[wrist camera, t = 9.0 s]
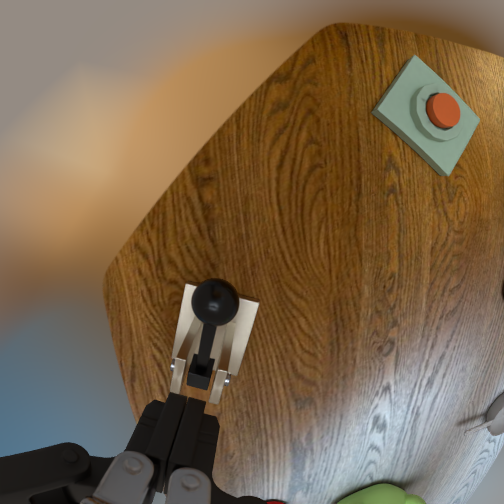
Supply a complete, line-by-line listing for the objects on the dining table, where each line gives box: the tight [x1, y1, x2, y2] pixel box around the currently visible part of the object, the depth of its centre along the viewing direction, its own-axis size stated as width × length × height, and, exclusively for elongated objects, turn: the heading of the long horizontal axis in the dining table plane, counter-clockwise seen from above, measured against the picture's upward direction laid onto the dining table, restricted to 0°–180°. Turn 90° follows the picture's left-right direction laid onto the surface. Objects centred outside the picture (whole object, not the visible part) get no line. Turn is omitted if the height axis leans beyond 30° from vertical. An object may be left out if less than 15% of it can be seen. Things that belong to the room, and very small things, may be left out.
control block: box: [371, 55, 480, 176], centre depth 31 cm, size 12×10×4 cm
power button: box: [426, 93, 460, 128], centre depth 29 cm, size 4×4×2 cm
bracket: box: [170, 281, 259, 404], centre depth 34 cm, size 11×9×12 cm
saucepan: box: [464, 393, 504, 436], centre depth 42 cm, size 11×18×4 cm, turn 93°
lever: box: [187, 278, 240, 390], centre depth 27 cm, size 14×4×4 cm, turn 165°
